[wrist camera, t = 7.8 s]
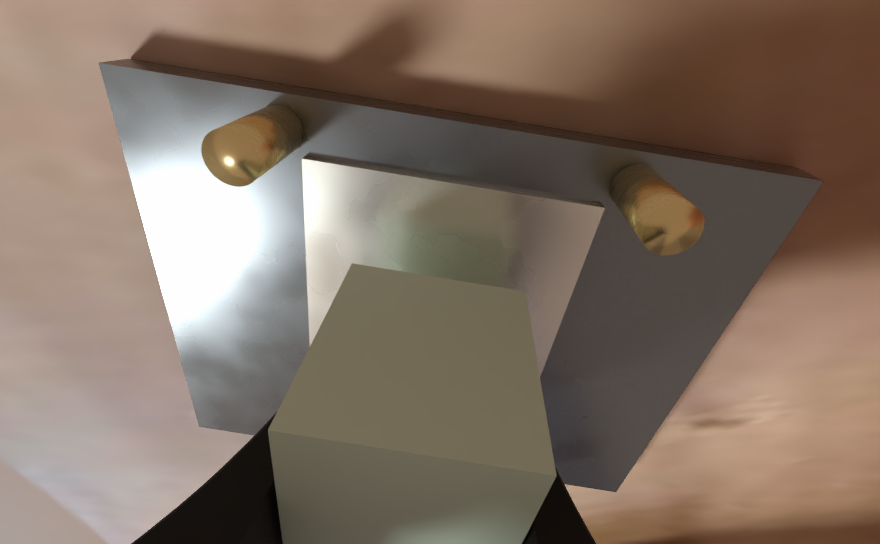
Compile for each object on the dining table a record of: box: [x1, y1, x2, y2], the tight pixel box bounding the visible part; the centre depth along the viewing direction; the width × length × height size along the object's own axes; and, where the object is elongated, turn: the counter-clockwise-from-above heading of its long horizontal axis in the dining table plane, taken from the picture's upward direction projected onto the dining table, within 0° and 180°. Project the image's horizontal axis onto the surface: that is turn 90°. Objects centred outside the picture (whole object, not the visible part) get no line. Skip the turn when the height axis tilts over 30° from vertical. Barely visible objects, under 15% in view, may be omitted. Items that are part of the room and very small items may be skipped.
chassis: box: [99, 59, 824, 492], centre depth 13 cm, size 18×14×4 cm
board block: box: [268, 263, 557, 544], centre depth 10 cm, size 4×7×5 cm, turn 172°
